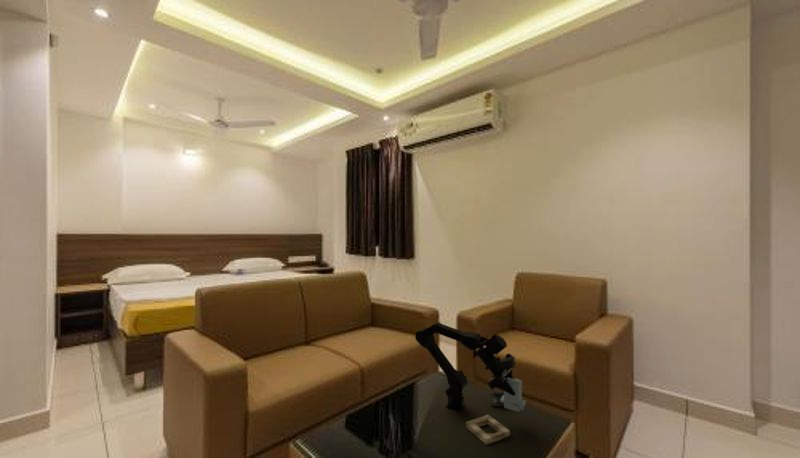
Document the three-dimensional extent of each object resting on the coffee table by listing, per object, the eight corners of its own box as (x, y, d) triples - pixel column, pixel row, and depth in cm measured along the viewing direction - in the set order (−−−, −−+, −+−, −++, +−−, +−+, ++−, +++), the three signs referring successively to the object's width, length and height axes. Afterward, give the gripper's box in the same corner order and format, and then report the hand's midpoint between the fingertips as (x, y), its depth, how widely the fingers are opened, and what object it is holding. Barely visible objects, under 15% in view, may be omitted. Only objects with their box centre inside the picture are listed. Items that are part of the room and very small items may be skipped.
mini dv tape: (508, 404, 159) (508, 391, 159) (508, 406, 158) (508, 393, 158) (489, 403, 160) (489, 391, 160) (490, 405, 159) (490, 392, 159)
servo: (500, 406, 145) (500, 378, 145) (503, 401, 149) (503, 373, 149) (523, 413, 140) (522, 383, 140) (525, 407, 144) (525, 379, 144)
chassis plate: (466, 427, 143) (466, 422, 143) (488, 419, 148) (488, 414, 148) (486, 444, 132) (486, 439, 132) (509, 435, 137) (509, 430, 137)
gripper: (495, 357, 138) (524, 392, 132) (509, 342, 154) (535, 373, 148) (477, 372, 143) (504, 406, 137) (492, 356, 158) (517, 386, 153)
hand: (516, 392), depth 144 cm, fingers closed on servo, 5 cm apart
